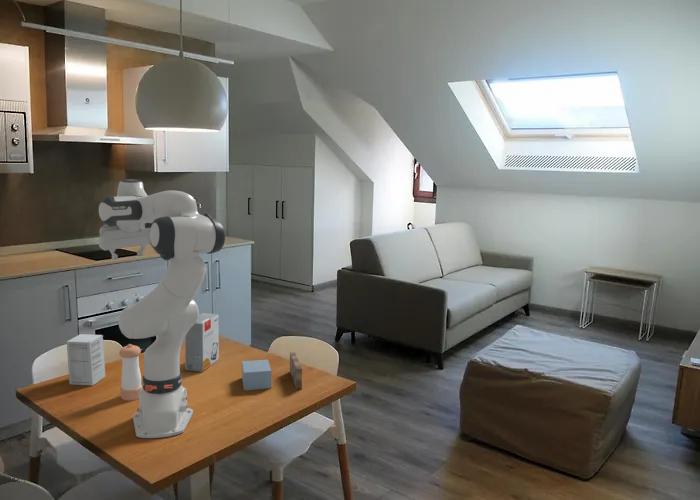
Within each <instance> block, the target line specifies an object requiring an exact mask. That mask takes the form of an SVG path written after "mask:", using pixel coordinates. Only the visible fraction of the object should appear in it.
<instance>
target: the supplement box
mask: <svg viewBox="0 0 700 500" xmlns="http://www.w3.org/2000/svg"><path fill="white" fill-rule="evenodd" d="M103 337H104V335H103V334H83V333H80V334H78V335H76V336H74V337H72V338H71V339H69V340H67V341H66V351H67V363H68V364H67V367H68V379H69V380H68V383H69V385H75V386H91V387H92V386H95V384H97V383H98V382H100V381H101V380H103V379H104V378H106V368H105V367H106V366H105V351H104V338H103Z"/></svg>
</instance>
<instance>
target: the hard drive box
mask: <svg viewBox="0 0 700 500" xmlns="http://www.w3.org/2000/svg"><path fill="white" fill-rule="evenodd" d="M219 318H220V317H219V314H217V313H208V312H207V313H206V312H202V313H199V317H198V320H197V322H196V323H195V324H194V325H193V326H192V327H191V329H190V330H189V331H188V333H187V334H186V336H185V338H184V341H185V347H184V348H185V352H184V354H185V356H184V357H185V362H184V363H185V370H186V371H192V372H199V373H200V372H204V371H206V370H207V369H209V367H211V366H212V365H214V364H215V363H216V362H218V361H219V359H220V358H219V354H220V352H219V350H220V349H219V348H220V345H219V342H220V340H219V336H220V335H219V331H220V329H219V328H220V327H219V326H220V325H219Z"/></svg>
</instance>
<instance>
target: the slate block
mask: <svg viewBox="0 0 700 500" xmlns="http://www.w3.org/2000/svg"><path fill="white" fill-rule="evenodd" d="M241 380H242V387H243V390H244V391H252V390H253V391H254V390H264V389H272V369H271V366H270V362H269V359H258V360H257V359H256V360H255V359H254V360H242V361H241Z"/></svg>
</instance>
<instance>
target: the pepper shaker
mask: <svg viewBox="0 0 700 500" xmlns="http://www.w3.org/2000/svg"><path fill="white" fill-rule="evenodd" d="M141 352H142V350H141V348H140V346H138V345H134V344H131V343H128V344H127V345H126V346H122V347H121V348H120V349H119V356H120V357H121V363H122V370H121V377H120V381H121V387H120V398H121V400H123V401H136V400H138V399H139V392H140V391H141V390H142V389H143V384H142V374H141V370H140V362H139V361H140V359H139V356H140V355H141Z"/></svg>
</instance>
